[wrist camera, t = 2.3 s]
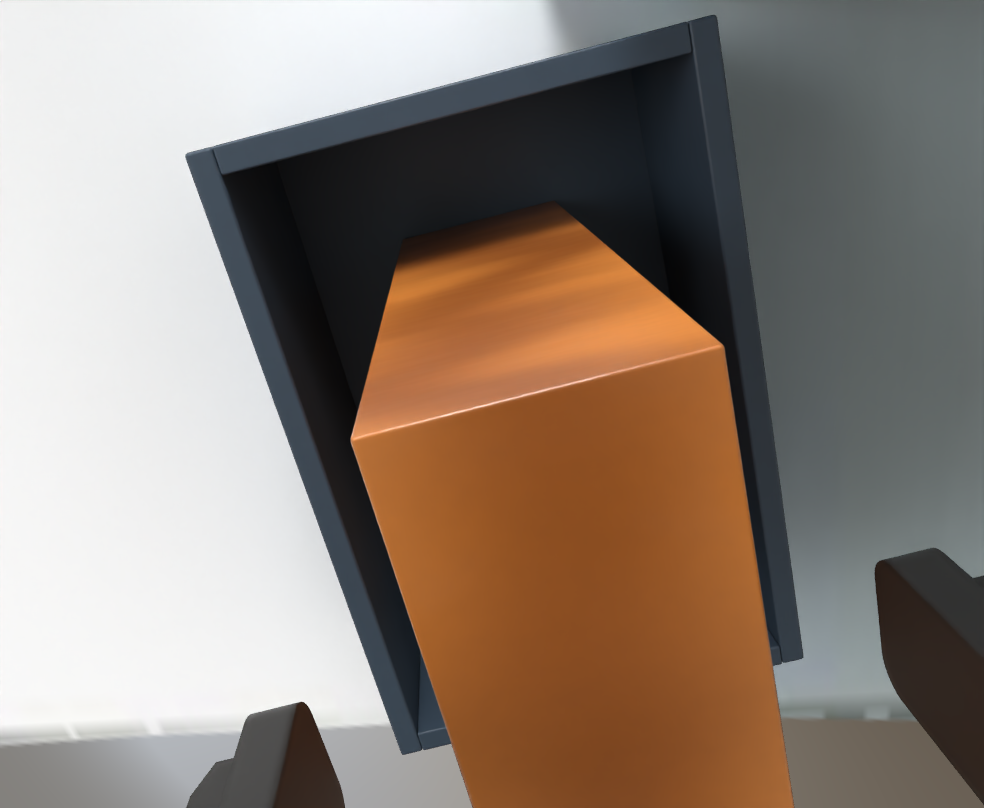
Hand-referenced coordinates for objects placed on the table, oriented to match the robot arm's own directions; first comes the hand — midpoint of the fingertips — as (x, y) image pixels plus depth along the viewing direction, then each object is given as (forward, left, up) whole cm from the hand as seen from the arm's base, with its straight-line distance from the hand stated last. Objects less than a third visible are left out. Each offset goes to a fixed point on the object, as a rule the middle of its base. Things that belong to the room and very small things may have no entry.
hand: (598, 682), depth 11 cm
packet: (0, 0, -15) cm, 15 cm away
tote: (0, 0, -15) cm, 15 cm away
